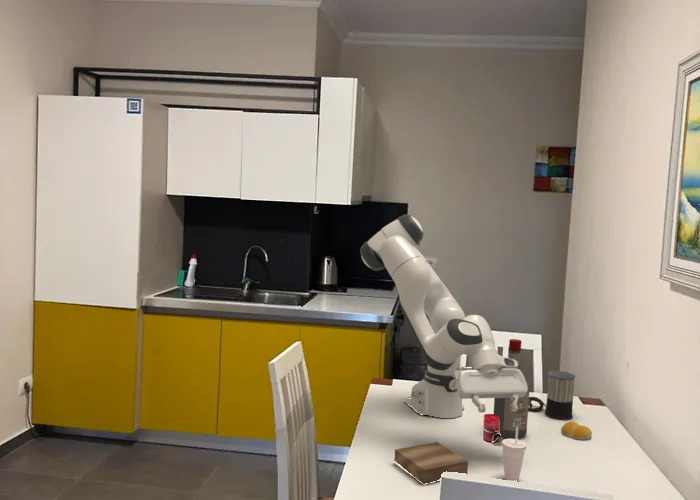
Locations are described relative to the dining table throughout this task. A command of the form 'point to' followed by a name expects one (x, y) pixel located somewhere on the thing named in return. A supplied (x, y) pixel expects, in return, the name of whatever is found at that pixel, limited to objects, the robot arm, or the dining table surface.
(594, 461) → the dining table surface
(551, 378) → the milk frother
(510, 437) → the liquor
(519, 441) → the smoothie
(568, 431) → the bread roll
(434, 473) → the plinth
